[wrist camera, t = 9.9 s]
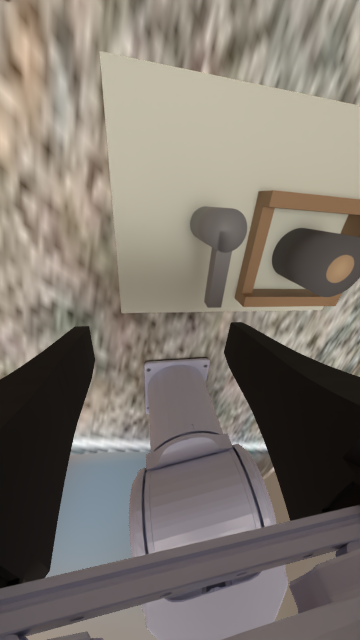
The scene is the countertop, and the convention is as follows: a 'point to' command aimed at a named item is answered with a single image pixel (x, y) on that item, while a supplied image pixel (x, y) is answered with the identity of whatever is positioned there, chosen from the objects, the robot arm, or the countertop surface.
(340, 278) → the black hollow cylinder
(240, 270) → the board
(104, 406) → the countertop surface
